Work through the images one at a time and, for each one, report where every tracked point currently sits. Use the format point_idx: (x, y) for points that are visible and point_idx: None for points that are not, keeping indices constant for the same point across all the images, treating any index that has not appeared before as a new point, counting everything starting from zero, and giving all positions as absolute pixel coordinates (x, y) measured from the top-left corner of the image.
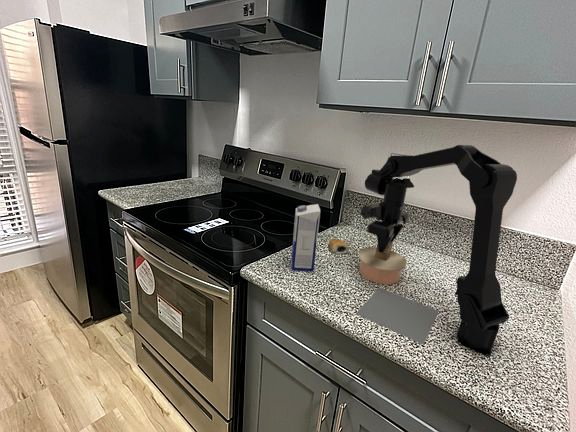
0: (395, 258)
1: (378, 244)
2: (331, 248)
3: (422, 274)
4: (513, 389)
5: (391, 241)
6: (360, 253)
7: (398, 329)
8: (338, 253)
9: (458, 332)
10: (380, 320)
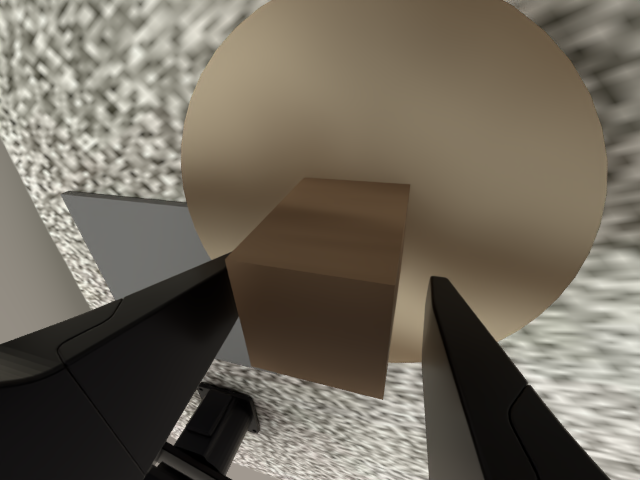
0: (404, 308)
1: (159, 286)
2: None
3: (552, 348)
4: (182, 419)
5: (423, 381)
6: (265, 25)
7: (123, 297)
8: None
9: (202, 401)
10: (106, 258)
